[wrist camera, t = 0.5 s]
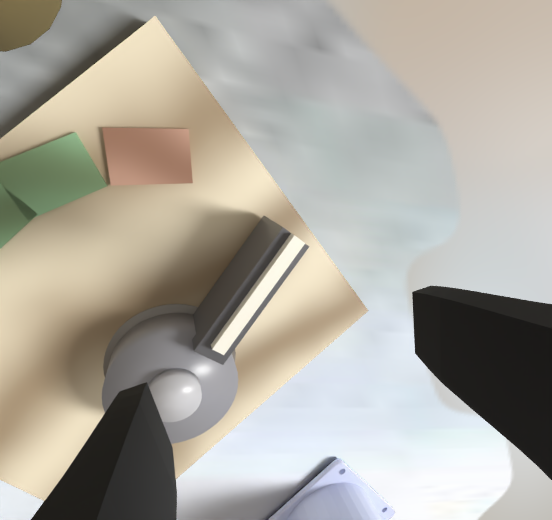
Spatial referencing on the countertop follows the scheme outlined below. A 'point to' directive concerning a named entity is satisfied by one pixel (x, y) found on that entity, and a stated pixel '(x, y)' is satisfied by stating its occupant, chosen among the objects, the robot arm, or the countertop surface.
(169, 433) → the peg dial
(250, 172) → the tuner board
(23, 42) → the cork
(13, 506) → the countertop surface
